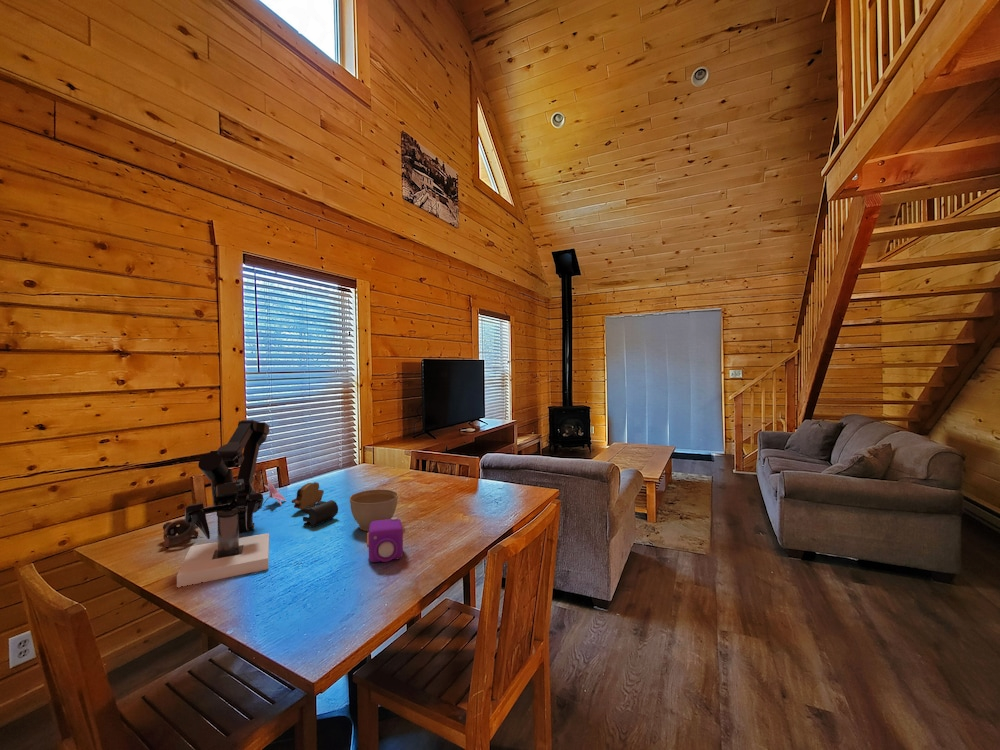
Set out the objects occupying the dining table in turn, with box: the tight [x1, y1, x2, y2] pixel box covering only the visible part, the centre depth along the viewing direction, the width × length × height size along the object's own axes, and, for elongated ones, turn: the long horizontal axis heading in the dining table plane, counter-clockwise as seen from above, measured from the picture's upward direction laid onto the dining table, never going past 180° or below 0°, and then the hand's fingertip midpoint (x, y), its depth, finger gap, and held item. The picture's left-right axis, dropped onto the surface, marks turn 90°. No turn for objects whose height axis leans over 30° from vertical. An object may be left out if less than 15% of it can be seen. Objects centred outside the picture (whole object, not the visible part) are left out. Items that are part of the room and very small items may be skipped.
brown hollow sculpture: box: [162, 518, 199, 548], centre depth 130 cm, size 12×10×8 cm
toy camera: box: [366, 516, 404, 563], centre depth 119 cm, size 11×14×10 cm
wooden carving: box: [291, 481, 325, 511], centre depth 163 cm, size 16×5×10 cm, turn 172°
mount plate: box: [176, 532, 270, 588], centre depth 116 cm, size 20×20×3 cm
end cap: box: [302, 499, 339, 528], centre depth 147 cm, size 10×7×7 cm
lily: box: [262, 478, 287, 506], centre depth 167 cm, size 12×12×10 cm
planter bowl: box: [349, 488, 399, 532], centre depth 143 cm, size 16×16×11 cm
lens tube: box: [216, 507, 240, 558], centre depth 116 cm, size 5×5×15 cm
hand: (228, 533), depth 115 cm, fingers open, 9 cm apart
